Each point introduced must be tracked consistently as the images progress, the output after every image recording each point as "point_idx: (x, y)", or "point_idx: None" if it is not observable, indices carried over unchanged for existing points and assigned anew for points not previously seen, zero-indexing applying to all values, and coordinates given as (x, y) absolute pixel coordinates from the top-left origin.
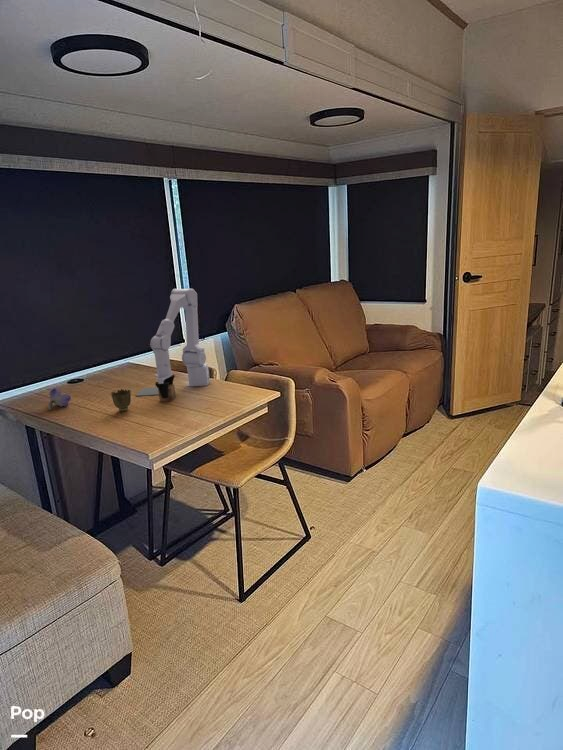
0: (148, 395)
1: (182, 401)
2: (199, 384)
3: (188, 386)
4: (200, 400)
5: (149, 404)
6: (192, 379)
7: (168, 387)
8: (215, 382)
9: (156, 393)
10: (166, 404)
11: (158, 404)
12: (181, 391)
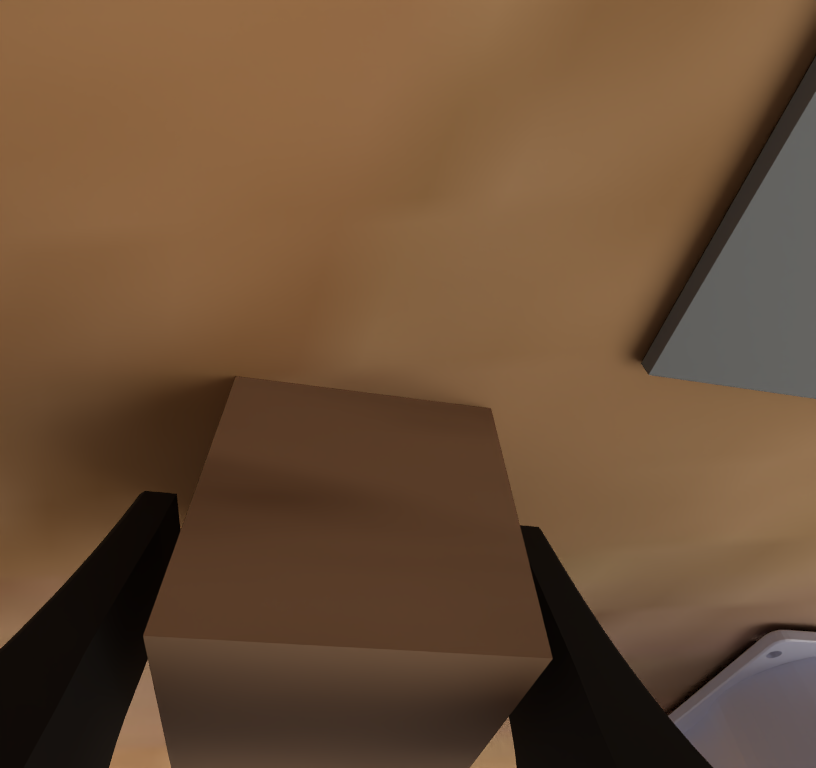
0: (810, 73)
1: None
2: (709, 713)
3: (758, 641)
4: None
5: (21, 175)
6: (787, 766)
7: (257, 753)
8: None
9: (770, 290)
10: (43, 481)
11: (35, 368)
12: (624, 591)
